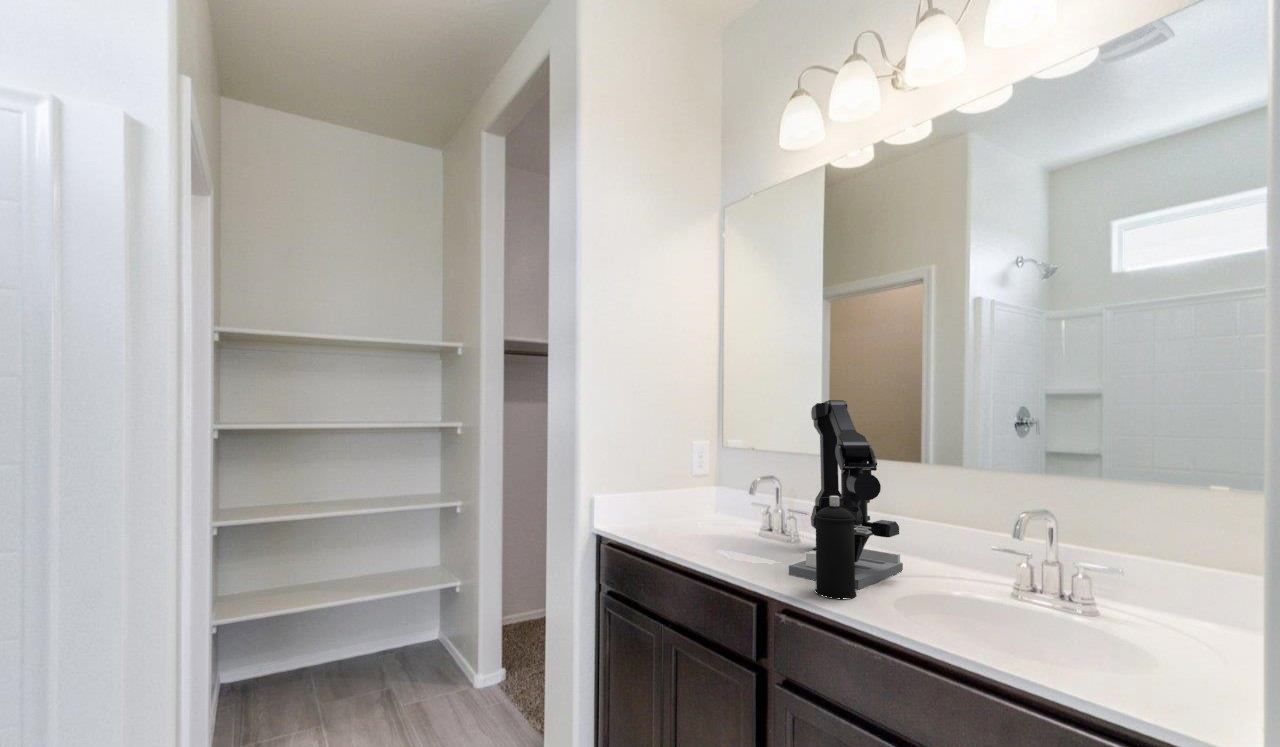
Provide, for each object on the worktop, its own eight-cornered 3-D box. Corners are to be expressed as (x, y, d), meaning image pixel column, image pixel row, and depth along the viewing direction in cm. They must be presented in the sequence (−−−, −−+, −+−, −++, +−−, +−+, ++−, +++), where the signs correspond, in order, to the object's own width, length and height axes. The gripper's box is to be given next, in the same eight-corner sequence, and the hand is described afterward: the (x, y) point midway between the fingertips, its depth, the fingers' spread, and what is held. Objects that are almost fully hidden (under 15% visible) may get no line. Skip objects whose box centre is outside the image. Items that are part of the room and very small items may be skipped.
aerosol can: (859, 600, 126) (857, 499, 127) (816, 598, 127) (815, 498, 128) (853, 589, 134) (852, 494, 135) (813, 587, 135) (812, 493, 137)
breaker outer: (813, 563, 147) (813, 550, 148) (824, 565, 145) (824, 552, 145) (805, 565, 145) (805, 552, 145) (817, 568, 143) (817, 554, 143)
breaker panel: (836, 558, 161) (836, 542, 161) (902, 571, 149) (902, 554, 149) (788, 574, 146) (788, 556, 146) (858, 589, 133) (858, 570, 134)
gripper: (800, 493, 148) (800, 560, 147) (877, 502, 134) (878, 576, 134) (824, 488, 155) (825, 553, 155) (899, 496, 142) (900, 567, 141)
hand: (855, 561), depth 146 cm, fingers closed
